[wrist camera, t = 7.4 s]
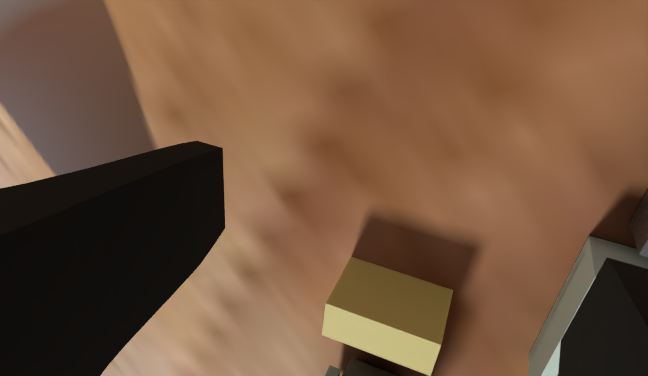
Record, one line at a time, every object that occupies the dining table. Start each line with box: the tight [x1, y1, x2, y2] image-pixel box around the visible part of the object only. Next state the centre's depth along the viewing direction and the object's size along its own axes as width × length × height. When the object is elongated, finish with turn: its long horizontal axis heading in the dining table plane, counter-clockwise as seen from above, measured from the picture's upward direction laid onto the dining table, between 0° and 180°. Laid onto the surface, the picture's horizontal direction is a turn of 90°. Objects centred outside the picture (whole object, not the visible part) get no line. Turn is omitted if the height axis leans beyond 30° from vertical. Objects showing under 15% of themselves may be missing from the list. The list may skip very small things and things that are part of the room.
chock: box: [322, 257, 453, 376], centre depth 22 cm, size 5×4×4 cm
